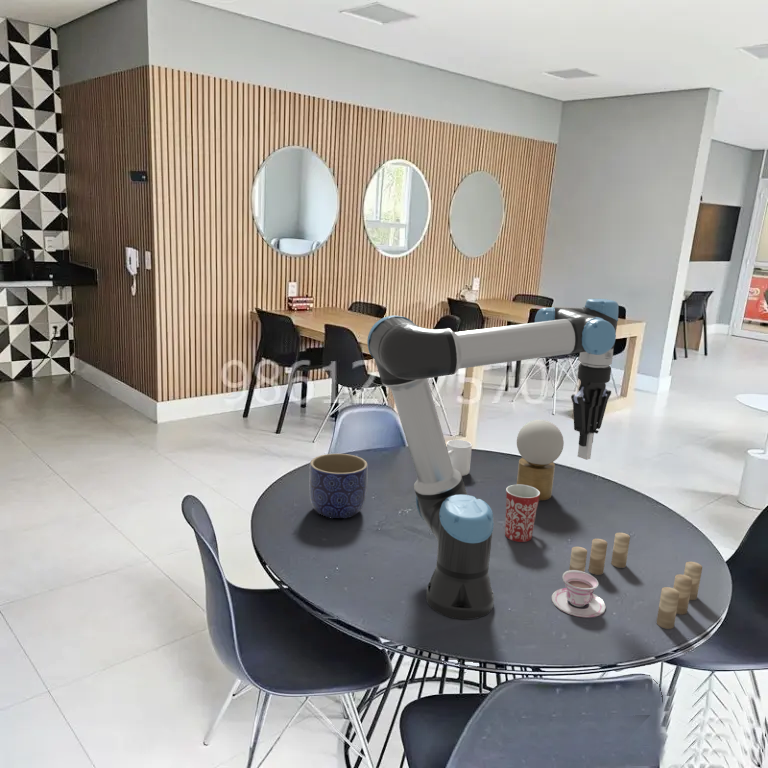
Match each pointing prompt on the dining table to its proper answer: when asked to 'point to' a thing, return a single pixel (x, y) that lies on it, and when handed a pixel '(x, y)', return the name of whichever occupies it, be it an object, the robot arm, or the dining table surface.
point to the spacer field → (670, 597)
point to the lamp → (538, 455)
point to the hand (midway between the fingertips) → (583, 457)
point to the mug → (520, 512)
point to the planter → (338, 484)
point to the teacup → (579, 595)
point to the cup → (460, 455)
